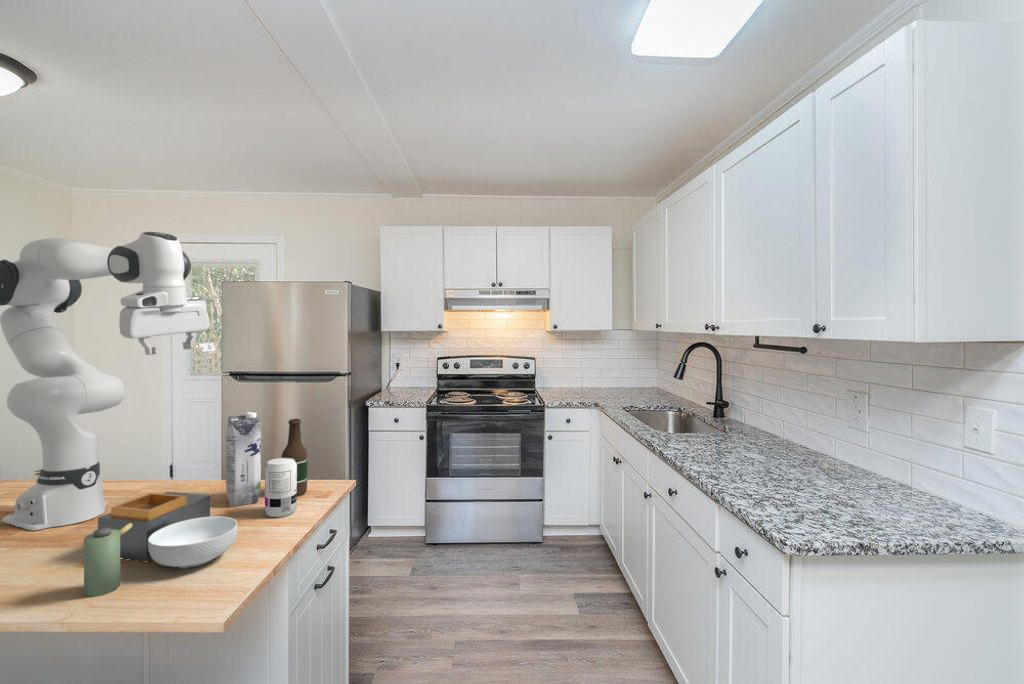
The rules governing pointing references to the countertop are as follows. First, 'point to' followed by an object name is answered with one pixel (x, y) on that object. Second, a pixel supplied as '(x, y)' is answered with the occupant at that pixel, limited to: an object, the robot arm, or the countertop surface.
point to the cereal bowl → (192, 541)
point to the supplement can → (280, 487)
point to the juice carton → (243, 459)
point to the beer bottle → (297, 455)
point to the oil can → (102, 561)
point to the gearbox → (152, 518)
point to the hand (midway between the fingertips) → (170, 351)
